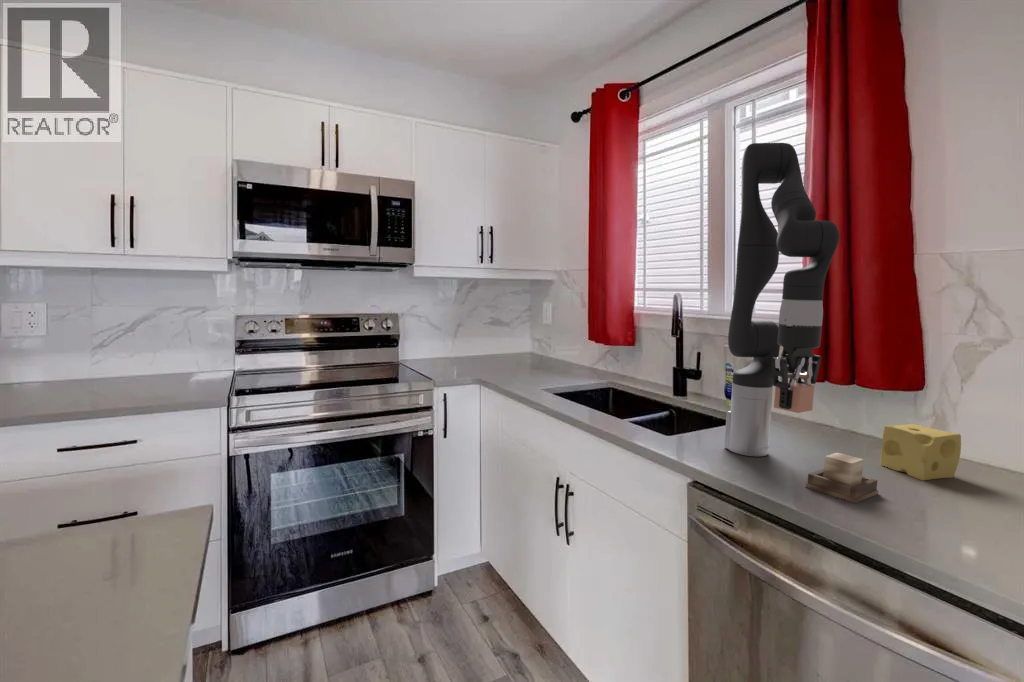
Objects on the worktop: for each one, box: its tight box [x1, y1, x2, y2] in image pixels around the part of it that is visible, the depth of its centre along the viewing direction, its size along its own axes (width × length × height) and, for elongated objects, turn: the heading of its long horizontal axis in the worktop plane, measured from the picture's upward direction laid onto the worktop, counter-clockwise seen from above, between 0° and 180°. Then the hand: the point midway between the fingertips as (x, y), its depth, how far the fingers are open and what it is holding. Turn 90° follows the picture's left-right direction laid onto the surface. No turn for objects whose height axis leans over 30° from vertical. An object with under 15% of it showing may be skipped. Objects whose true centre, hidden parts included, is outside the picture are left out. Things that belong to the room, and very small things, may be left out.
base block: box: [823, 452, 865, 486], centre depth 104 cm, size 5×5×6 cm
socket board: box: [805, 468, 879, 504], centre depth 104 cm, size 10×10×3 cm
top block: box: [773, 381, 815, 414], centre depth 102 cm, size 5×5×5 cm
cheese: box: [880, 423, 962, 481], centre depth 117 cm, size 10×11×10 cm
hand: (792, 406), depth 103 cm, fingers closed on top block, 5 cm apart
